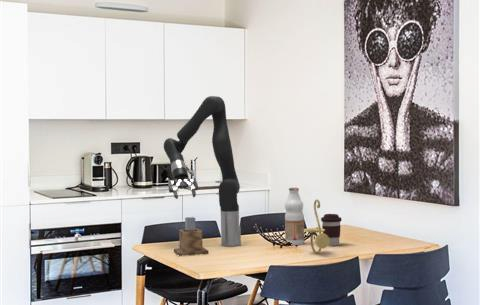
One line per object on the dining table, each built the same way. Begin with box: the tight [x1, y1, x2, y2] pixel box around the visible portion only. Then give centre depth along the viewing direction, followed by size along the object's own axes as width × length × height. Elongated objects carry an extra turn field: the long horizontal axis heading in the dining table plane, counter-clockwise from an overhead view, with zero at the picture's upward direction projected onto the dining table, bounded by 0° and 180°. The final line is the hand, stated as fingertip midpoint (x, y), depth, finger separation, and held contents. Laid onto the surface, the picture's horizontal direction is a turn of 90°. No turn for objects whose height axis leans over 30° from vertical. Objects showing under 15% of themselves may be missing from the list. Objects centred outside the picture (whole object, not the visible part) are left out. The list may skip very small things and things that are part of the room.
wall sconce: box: [304, 198, 329, 255], centre depth 275 cm, size 14×10×25 cm
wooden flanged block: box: [173, 228, 210, 257], centre depth 284 cm, size 14×12×10 cm
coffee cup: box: [320, 213, 342, 247], centre depth 297 cm, size 10×10×15 cm
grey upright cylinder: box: [184, 216, 197, 232], centre depth 284 cm, size 4×4×10 cm
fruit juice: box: [284, 187, 305, 246], centre depth 303 cm, size 9×9×28 cm
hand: (185, 197), depth 295 cm, fingers open, 8 cm apart
